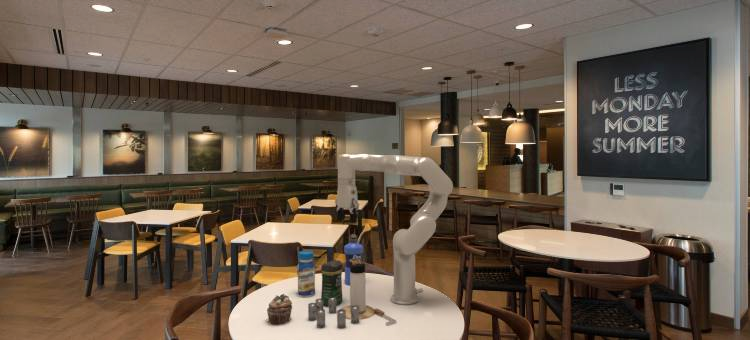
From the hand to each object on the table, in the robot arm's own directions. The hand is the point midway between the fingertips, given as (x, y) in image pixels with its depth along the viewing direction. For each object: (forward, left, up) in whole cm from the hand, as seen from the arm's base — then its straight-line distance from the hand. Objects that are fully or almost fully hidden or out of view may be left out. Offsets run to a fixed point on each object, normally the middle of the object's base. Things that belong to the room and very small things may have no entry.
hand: (346, 221), depth 175 cm
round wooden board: (+3, +12, -36) cm, 38 cm away
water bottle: (-17, -21, -36) cm, 45 cm away
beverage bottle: (+10, -20, -36) cm, 43 cm away
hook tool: (-2, +23, -36) cm, 43 cm away
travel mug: (+2, +12, -36) cm, 38 cm away
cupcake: (+32, +1, -36) cm, 48 cm away
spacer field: (+15, +13, -36) cm, 41 cm away
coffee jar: (+6, -3, -36) cm, 37 cm away
